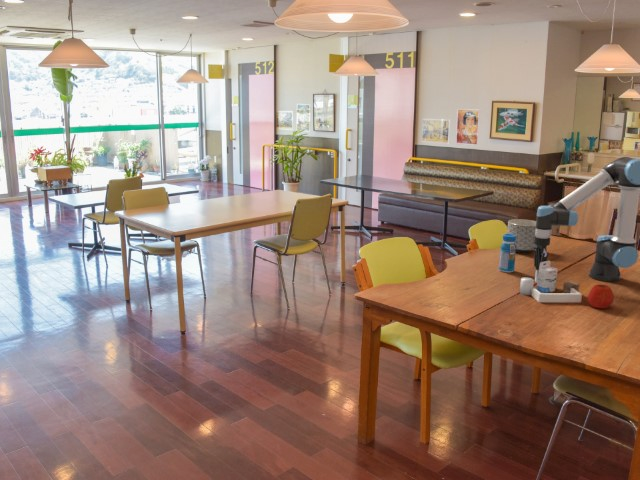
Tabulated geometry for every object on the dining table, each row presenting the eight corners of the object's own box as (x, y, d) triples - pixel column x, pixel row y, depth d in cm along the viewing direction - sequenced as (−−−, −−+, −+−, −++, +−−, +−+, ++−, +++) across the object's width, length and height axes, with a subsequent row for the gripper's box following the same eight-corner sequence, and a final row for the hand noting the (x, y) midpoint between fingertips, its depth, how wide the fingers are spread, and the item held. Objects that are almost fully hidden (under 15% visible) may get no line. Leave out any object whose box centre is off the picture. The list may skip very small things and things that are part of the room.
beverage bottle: (497, 271, 332) (500, 236, 327) (499, 267, 339) (502, 232, 334) (513, 273, 329) (517, 237, 324) (515, 269, 336) (518, 234, 331)
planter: (500, 247, 385) (503, 219, 380) (529, 247, 387) (532, 219, 382) (513, 255, 366) (516, 225, 362) (543, 254, 368) (546, 225, 364)
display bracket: (572, 296, 293) (573, 288, 292) (580, 302, 284) (581, 294, 283) (531, 295, 293) (532, 287, 292) (538, 302, 284) (539, 294, 283)
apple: (610, 312, 272) (613, 289, 270) (584, 307, 278) (587, 285, 275) (613, 305, 281) (616, 283, 279) (588, 301, 287) (591, 279, 284)
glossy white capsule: (529, 291, 300) (531, 277, 298) (534, 295, 294) (535, 281, 292) (517, 290, 300) (519, 277, 298) (522, 294, 294) (523, 281, 292)
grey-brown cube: (571, 291, 301) (572, 281, 300) (578, 294, 296) (579, 284, 295) (562, 292, 299) (563, 282, 298) (569, 295, 295) (570, 285, 293)
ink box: (544, 293, 296) (547, 264, 292) (536, 291, 300) (539, 262, 296) (555, 291, 300) (558, 262, 297) (547, 288, 304) (550, 260, 301)
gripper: (530, 233, 311) (525, 277, 316) (540, 239, 298) (535, 285, 304) (544, 233, 311) (540, 277, 317) (555, 239, 299) (550, 285, 304)
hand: (537, 281), depth 310 cm, fingers closed
